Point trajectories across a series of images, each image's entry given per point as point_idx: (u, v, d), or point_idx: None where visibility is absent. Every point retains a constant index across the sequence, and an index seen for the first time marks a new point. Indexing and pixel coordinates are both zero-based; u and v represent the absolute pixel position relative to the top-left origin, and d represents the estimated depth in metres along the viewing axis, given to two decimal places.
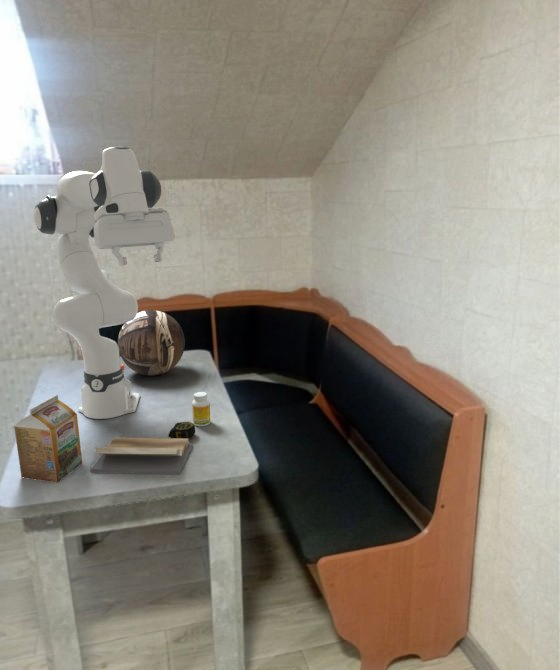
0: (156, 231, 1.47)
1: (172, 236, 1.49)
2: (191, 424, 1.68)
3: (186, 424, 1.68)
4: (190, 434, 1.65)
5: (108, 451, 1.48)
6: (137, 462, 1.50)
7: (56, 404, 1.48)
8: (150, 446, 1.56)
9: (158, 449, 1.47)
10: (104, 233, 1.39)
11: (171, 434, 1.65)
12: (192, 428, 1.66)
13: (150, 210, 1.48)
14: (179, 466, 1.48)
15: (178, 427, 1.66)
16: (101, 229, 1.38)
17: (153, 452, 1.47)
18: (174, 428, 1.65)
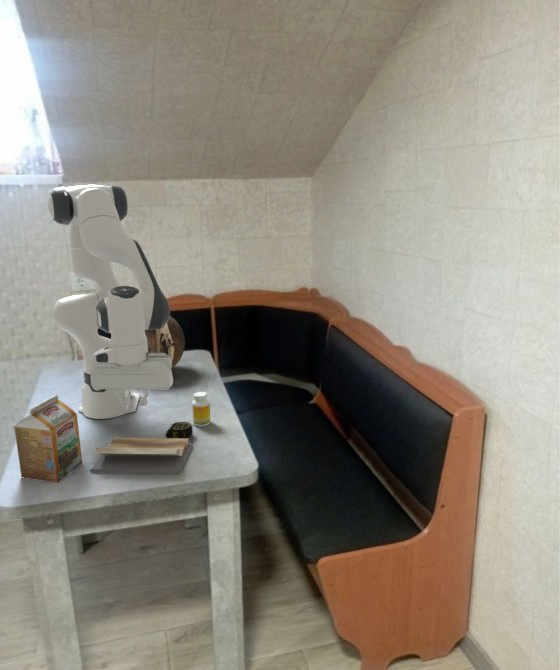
0: (149, 379, 1.42)
1: (166, 385, 1.42)
2: (188, 424, 1.67)
3: (184, 424, 1.68)
4: (187, 434, 1.65)
5: (108, 451, 1.48)
6: (137, 462, 1.50)
7: (56, 404, 1.48)
8: (150, 446, 1.56)
9: (158, 449, 1.47)
10: (95, 378, 1.43)
11: (168, 434, 1.65)
12: (189, 428, 1.66)
13: (149, 355, 1.42)
14: (179, 466, 1.48)
15: (175, 427, 1.66)
16: (92, 375, 1.43)
17: (153, 452, 1.47)
18: (171, 428, 1.65)
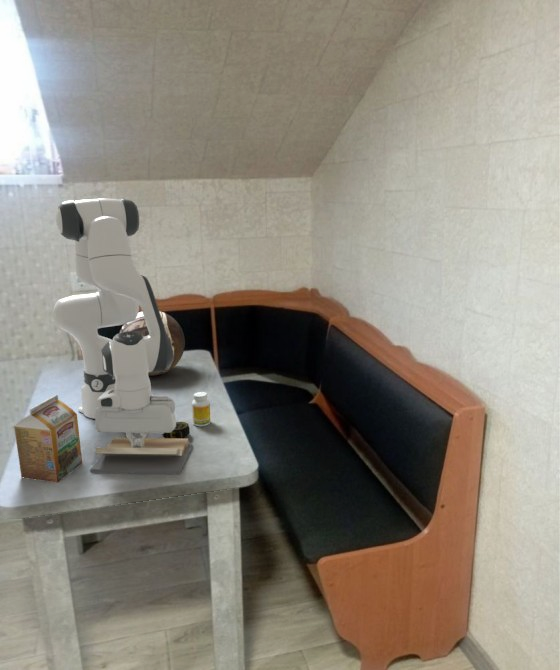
0: (152, 422, 1.45)
1: (169, 428, 1.45)
2: (185, 424, 1.68)
3: (181, 424, 1.68)
4: (184, 434, 1.65)
5: (108, 451, 1.48)
6: (137, 462, 1.50)
7: (56, 404, 1.48)
8: (150, 446, 1.56)
9: (158, 449, 1.47)
10: (100, 421, 1.46)
11: (165, 434, 1.65)
12: (186, 428, 1.66)
13: (153, 399, 1.45)
14: (179, 466, 1.48)
15: None
16: (97, 418, 1.45)
17: (153, 452, 1.47)
18: None
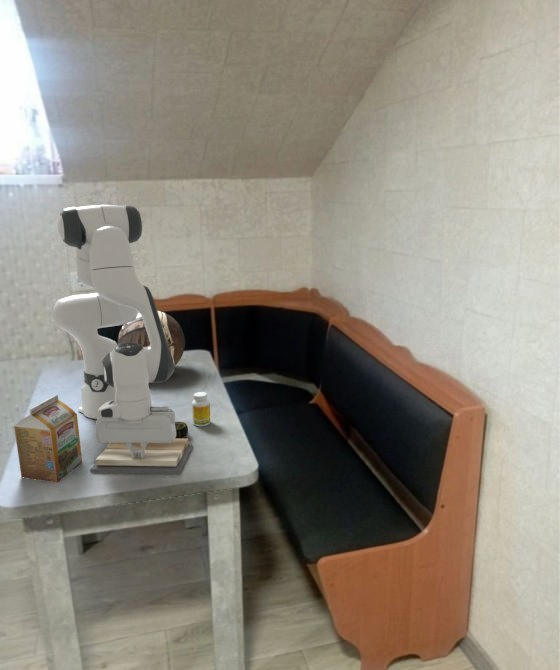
0: (152, 433, 1.45)
1: (170, 439, 1.45)
2: (184, 424, 1.68)
3: (179, 424, 1.68)
4: (183, 434, 1.65)
5: (109, 463, 1.48)
6: None
7: (56, 404, 1.48)
8: (150, 446, 1.56)
9: (158, 461, 1.47)
10: (100, 432, 1.46)
11: None
12: (185, 428, 1.66)
13: (153, 409, 1.45)
14: (179, 466, 1.48)
15: None
16: (97, 429, 1.46)
17: (153, 464, 1.47)
18: None
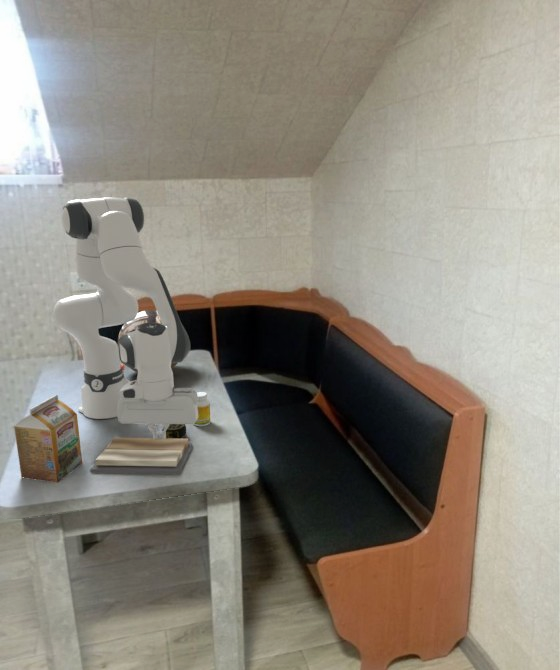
0: (175, 414, 1.44)
1: (192, 420, 1.44)
2: (182, 424, 1.68)
3: (178, 424, 1.68)
4: (181, 434, 1.65)
5: (109, 463, 1.48)
6: None
7: (56, 404, 1.48)
8: (150, 446, 1.56)
9: (158, 462, 1.47)
10: (122, 413, 1.45)
11: None
12: (183, 428, 1.66)
13: (175, 390, 1.44)
14: (179, 466, 1.48)
15: (169, 427, 1.66)
16: (119, 410, 1.44)
17: (153, 464, 1.47)
18: None
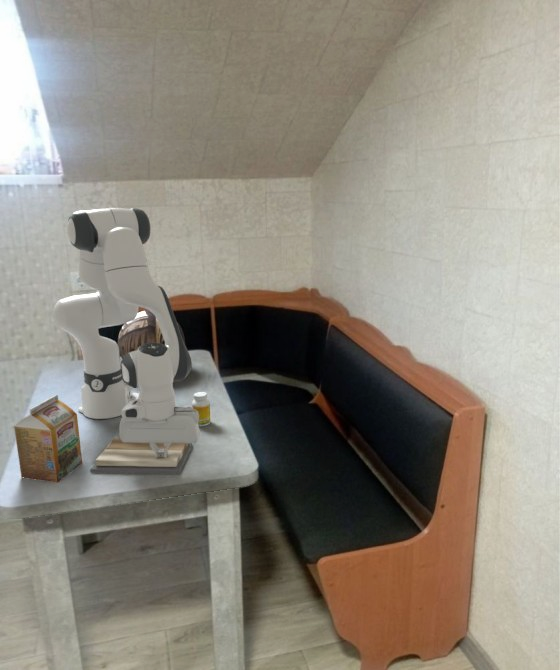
0: (176, 433, 1.46)
1: (193, 439, 1.46)
2: None
3: None
4: None
5: (109, 463, 1.48)
6: None
7: (56, 404, 1.48)
8: None
9: (158, 462, 1.47)
10: (124, 432, 1.46)
11: None
12: None
13: (177, 410, 1.45)
14: (179, 466, 1.48)
15: None
16: (121, 429, 1.46)
17: (153, 465, 1.47)
18: None
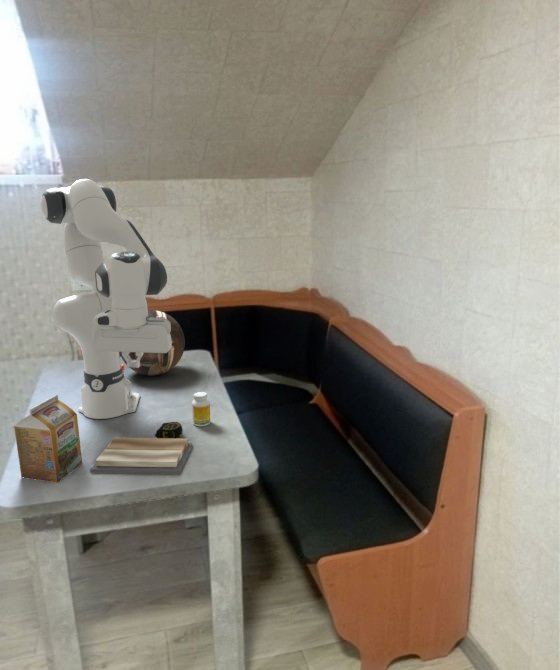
0: (148, 342, 1.47)
1: (165, 349, 1.47)
2: (178, 424, 1.68)
3: (173, 424, 1.68)
4: (177, 434, 1.65)
5: (109, 464, 1.48)
6: None
7: (56, 404, 1.48)
8: (150, 446, 1.56)
9: (158, 462, 1.47)
10: (96, 340, 1.48)
11: (158, 434, 1.65)
12: (179, 428, 1.66)
13: (149, 319, 1.47)
14: (179, 466, 1.48)
15: (165, 427, 1.66)
16: (93, 337, 1.47)
17: (154, 465, 1.47)
18: (161, 428, 1.65)
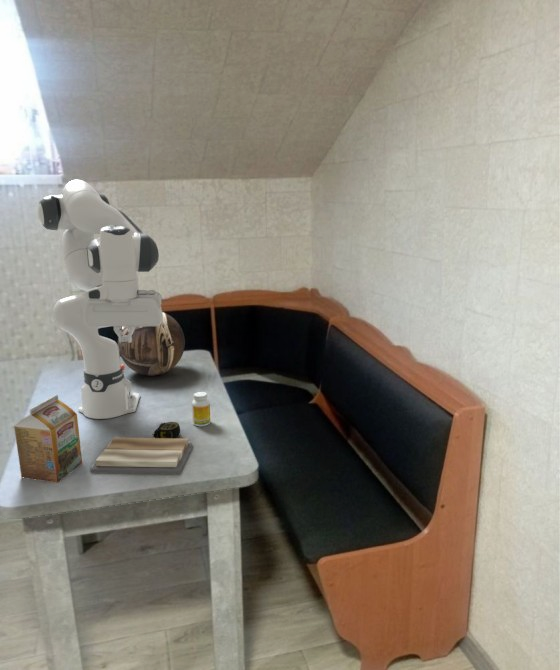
0: (139, 316, 1.48)
1: (156, 322, 1.48)
2: (176, 424, 1.68)
3: (171, 424, 1.68)
4: (175, 434, 1.65)
5: (109, 464, 1.48)
6: None
7: (56, 404, 1.48)
8: (150, 446, 1.56)
9: (158, 462, 1.47)
10: (88, 315, 1.48)
11: (156, 434, 1.65)
12: (177, 428, 1.66)
13: (140, 292, 1.47)
14: (179, 466, 1.48)
15: (163, 427, 1.66)
16: (85, 312, 1.48)
17: (154, 465, 1.47)
18: (159, 428, 1.65)
